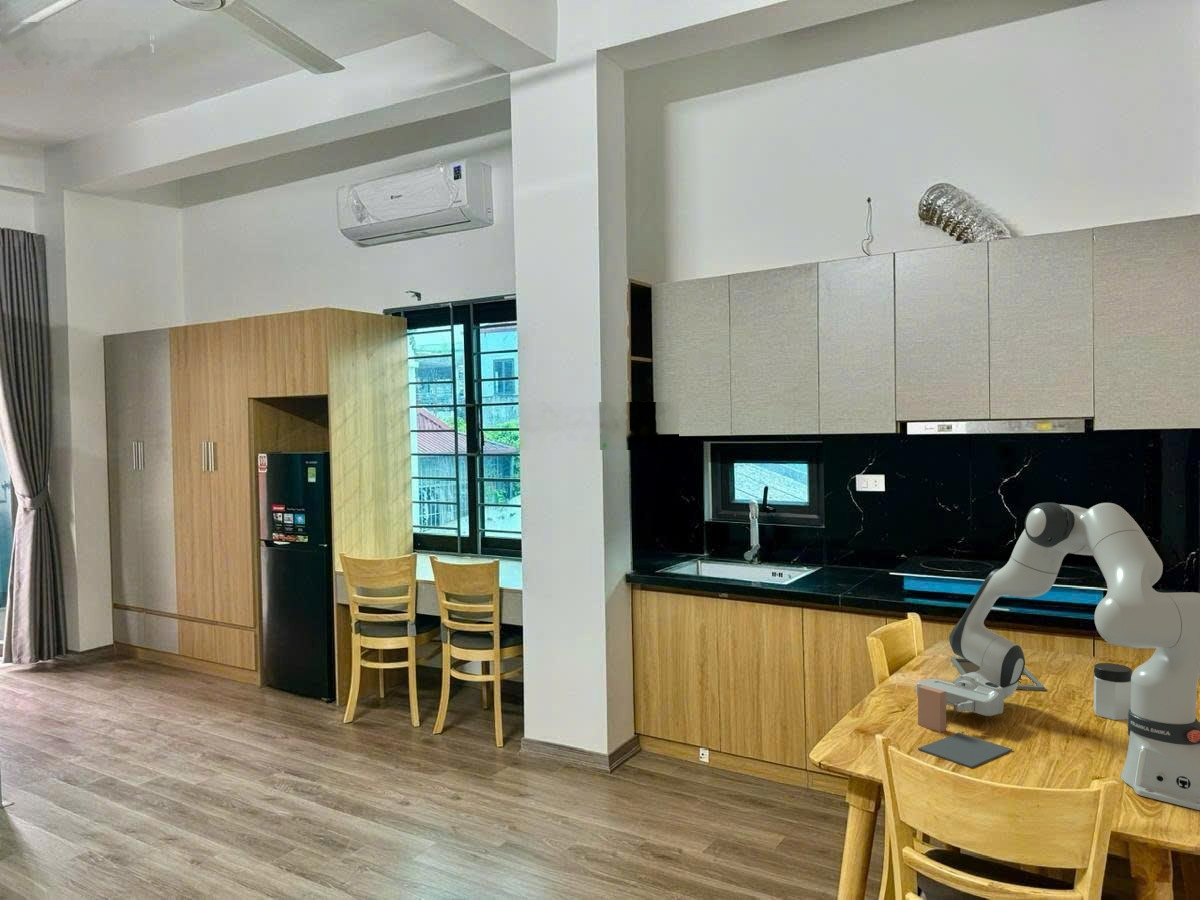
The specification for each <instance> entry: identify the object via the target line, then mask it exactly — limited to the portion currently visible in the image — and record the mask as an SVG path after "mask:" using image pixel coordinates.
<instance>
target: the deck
mask: <svg viewBox="0 0 1200 900" xmlns="http://www.w3.org/2000/svg"><path fill="white" fill-rule="evenodd" d="M917 725H918V726H921V727H924V728H927V729H929V730H933V731H935V732H939V733H941V732H944V731H947V705H946V691H944V690H940V689H937V688H933V687H929V686H926V685H922V686H919V687H918V696H917Z"/></svg>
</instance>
